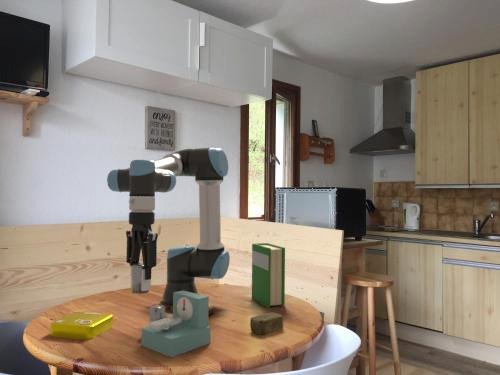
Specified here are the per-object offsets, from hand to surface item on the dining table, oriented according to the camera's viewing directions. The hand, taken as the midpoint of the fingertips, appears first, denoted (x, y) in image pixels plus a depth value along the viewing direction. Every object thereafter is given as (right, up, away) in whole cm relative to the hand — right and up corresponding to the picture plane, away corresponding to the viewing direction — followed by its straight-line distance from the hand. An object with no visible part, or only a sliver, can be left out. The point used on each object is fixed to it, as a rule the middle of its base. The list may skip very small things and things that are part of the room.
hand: (140, 288), depth 124 cm
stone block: (+39, -18, +15) cm, 45 cm away
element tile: (-22, -18, +13) cm, 31 cm away
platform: (+8, -12, -2) cm, 14 cm away
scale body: (+11, -17, +1) cm, 20 cm away
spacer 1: (0, -1, 0) cm, 1 cm away
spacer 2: (+2, -17, +13) cm, 21 cm away
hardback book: (+40, -19, +52) cm, 69 cm away
